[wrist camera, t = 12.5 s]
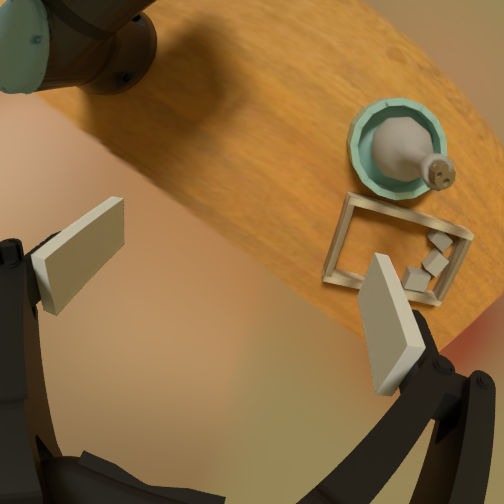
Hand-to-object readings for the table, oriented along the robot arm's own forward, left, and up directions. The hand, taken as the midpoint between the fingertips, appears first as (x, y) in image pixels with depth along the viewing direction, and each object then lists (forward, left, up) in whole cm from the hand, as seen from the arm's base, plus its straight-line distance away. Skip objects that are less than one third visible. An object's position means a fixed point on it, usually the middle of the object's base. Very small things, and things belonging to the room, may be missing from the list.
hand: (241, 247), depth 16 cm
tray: (+22, -11, -32) cm, 40 cm away
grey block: (+27, -15, -32) cm, 44 cm away
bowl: (+16, +4, -32) cm, 36 cm away
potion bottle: (+16, +4, -31) cm, 35 cm away
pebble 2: (+29, -11, -32) cm, 44 cm away
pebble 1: (+28, -7, -32) cm, 43 cm away
